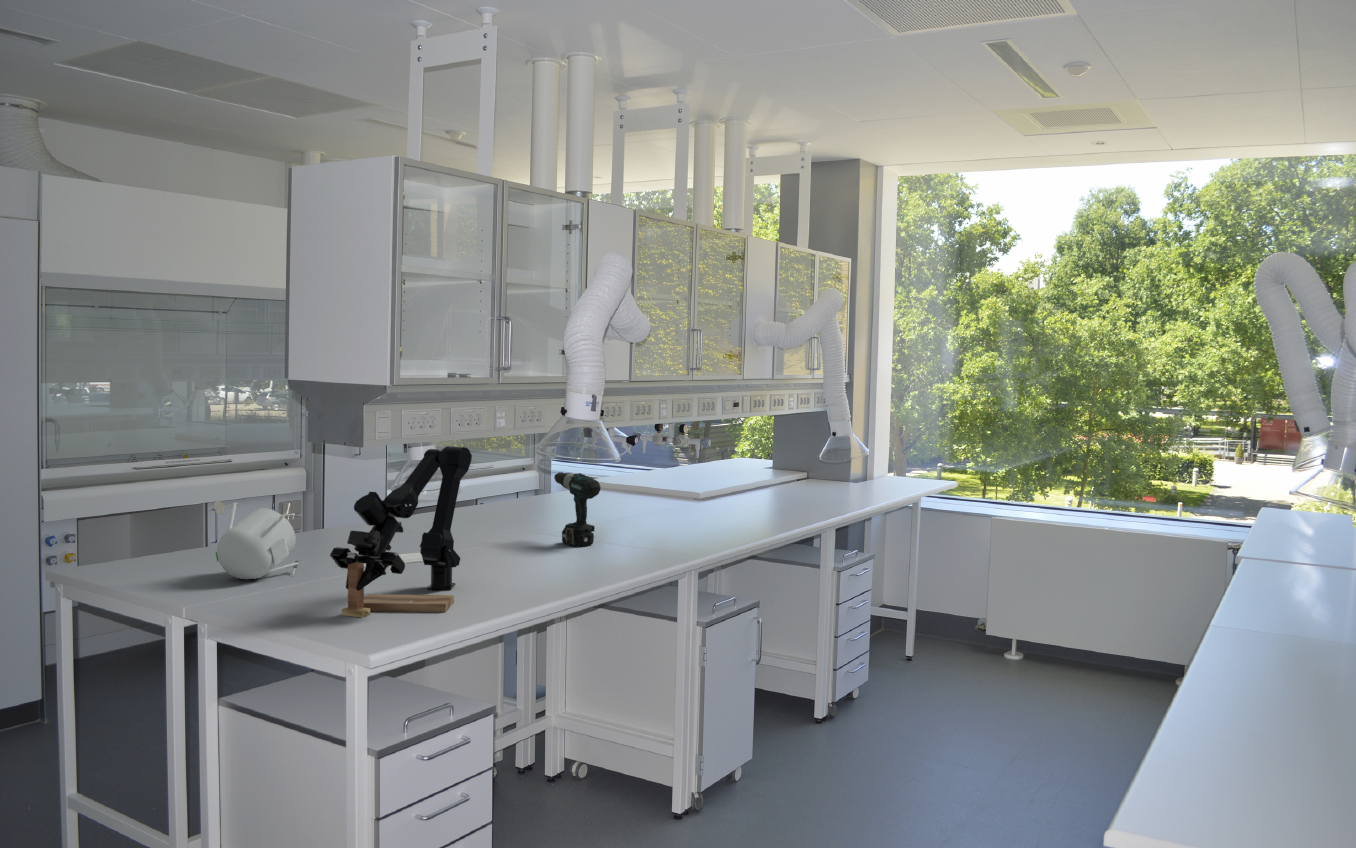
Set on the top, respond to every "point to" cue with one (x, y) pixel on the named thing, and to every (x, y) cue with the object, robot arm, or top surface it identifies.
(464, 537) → the top surface
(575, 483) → the power drill
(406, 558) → the baseboard molding
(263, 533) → the satellite
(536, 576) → the top surface
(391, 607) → the tan wooden flat board
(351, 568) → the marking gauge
